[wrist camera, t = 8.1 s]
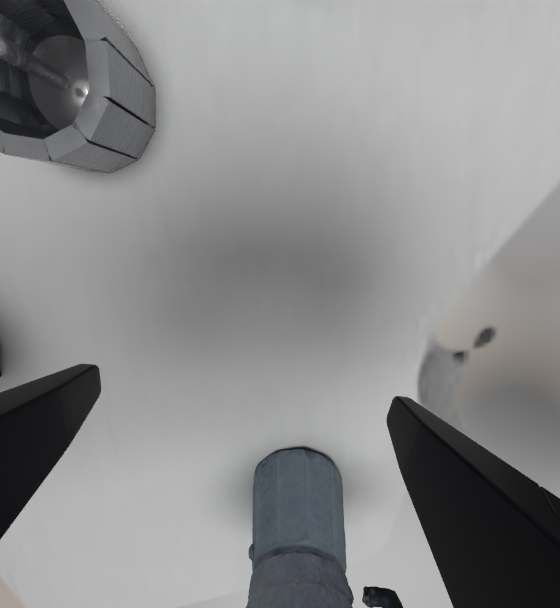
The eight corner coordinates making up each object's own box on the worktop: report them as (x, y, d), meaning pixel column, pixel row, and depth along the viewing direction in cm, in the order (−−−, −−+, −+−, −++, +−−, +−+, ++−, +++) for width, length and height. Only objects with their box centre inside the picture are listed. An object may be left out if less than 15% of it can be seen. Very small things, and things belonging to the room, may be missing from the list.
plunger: (42, 133, 16) (-177, 63, 8) (29, 32, 15) (-258, -172, 7) (124, 146, 17) (-12, 91, 9) (119, 49, 15) (-52, -127, 7)
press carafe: (27, 160, 17) (-64, 144, 13) (-9, -70, 14) (-154, -213, 9) (156, 180, 18) (114, 171, 13) (153, -37, 14) (94, -155, 10)
